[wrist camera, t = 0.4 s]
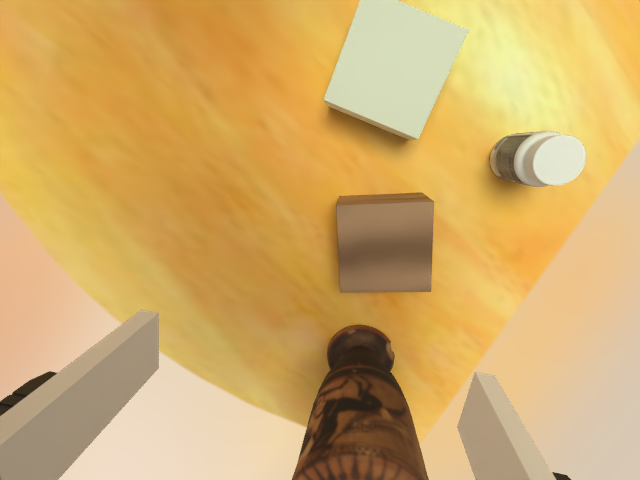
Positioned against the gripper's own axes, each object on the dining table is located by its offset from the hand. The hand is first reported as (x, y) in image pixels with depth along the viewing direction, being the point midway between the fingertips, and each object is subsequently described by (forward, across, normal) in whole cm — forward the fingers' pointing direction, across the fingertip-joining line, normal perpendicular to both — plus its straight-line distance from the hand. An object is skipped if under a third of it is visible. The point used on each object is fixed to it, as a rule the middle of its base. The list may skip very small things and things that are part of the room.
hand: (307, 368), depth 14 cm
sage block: (+26, +2, +16) cm, 30 cm away
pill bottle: (+26, +16, +10) cm, 32 cm away
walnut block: (+26, +5, 0) cm, 26 cm away
